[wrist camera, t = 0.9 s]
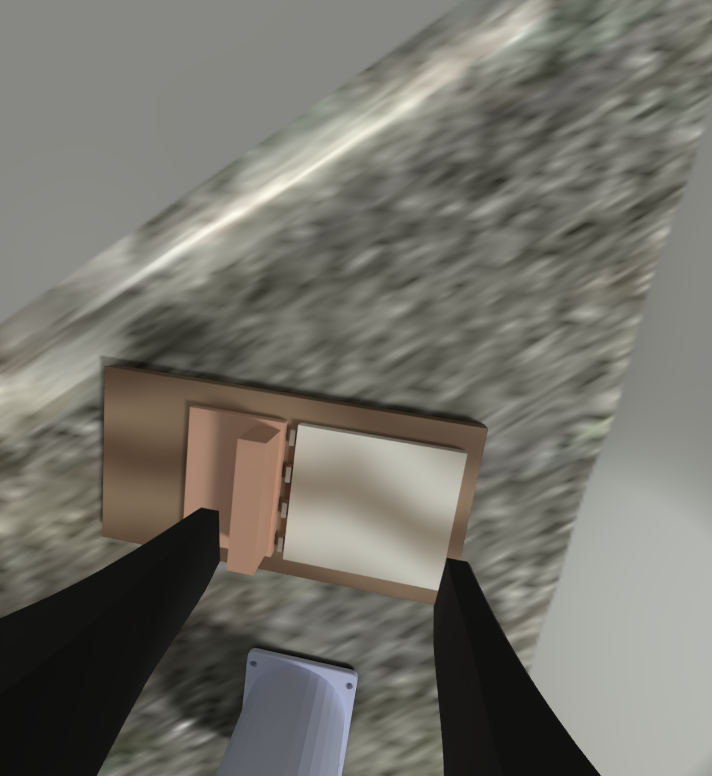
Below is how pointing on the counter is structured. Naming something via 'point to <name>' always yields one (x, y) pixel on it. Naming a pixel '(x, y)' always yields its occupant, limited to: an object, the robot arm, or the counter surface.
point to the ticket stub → (237, 479)
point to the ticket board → (304, 479)
